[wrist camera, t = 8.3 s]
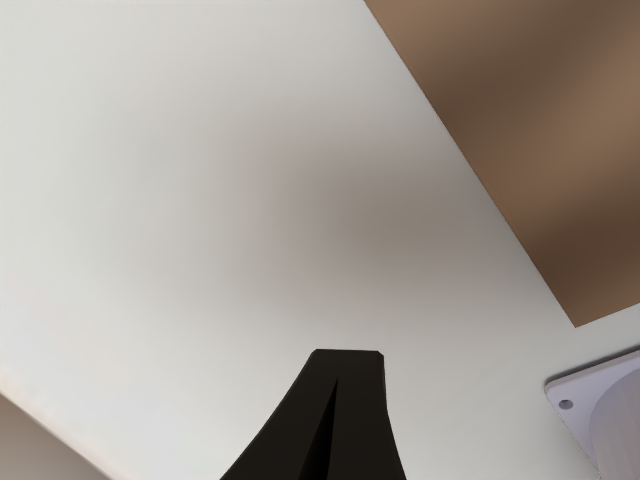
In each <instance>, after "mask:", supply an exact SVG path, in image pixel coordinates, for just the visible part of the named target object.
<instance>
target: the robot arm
mask: <svg viewBox="0 0 640 480" xmlns="http://www.w3.org/2000/svg"><path fill="white" fill-rule="evenodd" d="M545 394H546V398H547V400H548V401H549V403H550V404H551V406H552V407H553V408H554V410H555V411H556V413H557V414H558V415H559V417H560V418H561V420H562V421H563V423H564V424H565V425H566V427H567V428H568V430H569V431H570V432H571V434H572V435H573V437H574V438H575V439H576V441H577V442H578V444H579V445H580V446H581V448H582V449H583V451H584V452H585V453H586V455H587V456H588V458H589V459H590V461H591V462H592V463H593V465H594V466H595V468H596V469H597V470H598V472H599V473H600V476H601V479H602V480H640V350H638V351H635V352H632V353H629V354H627V355H624V356H621V357H618V358H615V359H613V360H610V361H607V362H604V363H601V364H599V365H596V366H593V367H590V368H587V369H585V370H582V371H579V372H576V373H573V374H571V375H568V376H565V377H562V378H559V379H557V380H554V381H551V382H550V383H548V384H547V385H546V386H545ZM562 400H569V401H567V402H561V401H562ZM220 480H407V479H406V476H405V473H404V470H403V467H402V464H401V461H400V458H399V454H398V451H397V447H396V444H395V440H394V436H393V432H392V428H391V424H390V420H389V416H388V411H387V401H386V385H385V369H384V356H383V355H382V354H381V353H380V352H379V351H367V350H334V349H316V350H315V351H313V352H312V353H311V355H310V357H309V358H308V360H307V362H306V364H305V365H304V367H303V369H302V370H301V372H300V373H299V375H298V377H297V378H296V380H295V381H294V383H293V384H292V386H291V387H290V389H289V390H288V392H287V393H286V395H285V396H284V398H283V399H282V401H281V402H280V404H279V405H278V406H277V408H276V409H275V411H274V412H273V413H272V415H271V416H270V418H269V419H268V420H267V422H266V423H265V425H264V426H263V427H262V429H261V430H260V431H259V433H258V434H257V435H256V436H255V438H254V439H253V440H252V441H251V443H250V444H249V445H248V446H247V448H246V449H245V450H244V451H243V453H242V454H241V455H240V456H239V457H238V459H237V460H236V461H235V462H234V464H233V465H232V466H231V467H230V468H229V469H228V471H227V472H226V473H225V474H224V475H223V476H222V477H221V479H220Z"/></svg>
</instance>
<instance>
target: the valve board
mask: <svg viewBox="0 0 640 480" xmlns="http://www.w3.org/2000/svg"><path fill="white" fill-rule="evenodd" d="M364 1H365V3H366V5H367V6H368V8H369V9H370V11H371V12H372V14H373V15H374V17H375V19H376V20H377V22H378V23H379V25H380V26H381V28H382V29H383V31H384V32H385V34H386V36H387V37H388V39H389V40H390V42H391V43H392V45H393V46H394V48H395V50H396V51H397V53H398V54H399V56H400V57H401V59H402V60H403V62H404V63H405V65H406V67H407V68H408V70H409V71H410V73H411V74H412V76H413V77H414V79H415V80H416V82H417V84H418V85H419V87H420V88H421V90H422V91H423V93H424V94H425V96H426V98H427V99H428V101H429V102H430V104H431V105H432V107H433V108H434V110H435V111H436V113H437V115H438V116H439V118H440V119H441V121H442V122H443V124H444V125H445V127H446V128H447V130H448V132H449V133H450V135H451V136H452V138H453V139H454V141H455V142H456V144H457V146H458V147H459V149H460V150H461V152H462V153H463V155H464V156H465V158H466V159H467V161H468V163H469V164H470V166H471V167H472V169H473V170H474V172H475V173H476V175H477V177H478V178H479V180H480V181H481V183H482V184H483V186H484V187H485V189H486V190H487V192H488V194H489V195H490V197H491V198H492V200H493V201H494V203H495V204H496V206H497V207H498V209H499V211H500V212H501V214H502V215H503V217H504V218H505V220H506V221H507V223H508V225H509V226H510V228H511V229H512V231H513V232H514V234H515V235H516V237H517V238H518V240H519V242H520V243H521V245H522V246H523V248H524V249H525V251H526V252H527V254H528V255H529V257H530V259H531V260H532V262H533V263H534V265H535V266H536V268H537V269H538V271H539V273H540V274H541V276H542V277H543V279H544V280H545V282H546V283H547V285H548V286H549V288H550V290H551V291H552V293H553V294H554V296H555V297H556V299H557V300H558V302H559V304H560V305H561V307H562V308H563V310H564V311H565V313H566V314H567V316H568V317H569V319H570V321H571V322H572V324H573V325H574V327H575V328H576V327H579V326H582V325H584V324H587V323H589V322H592V321H594V320H597V319H600V318H602V317H605V316H607V315H610V314H612V313H615V312H618V311H620V310H623V309H625V308H628V307H630V306H633V305H636V304H638V303H640V0H364Z"/></svg>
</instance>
